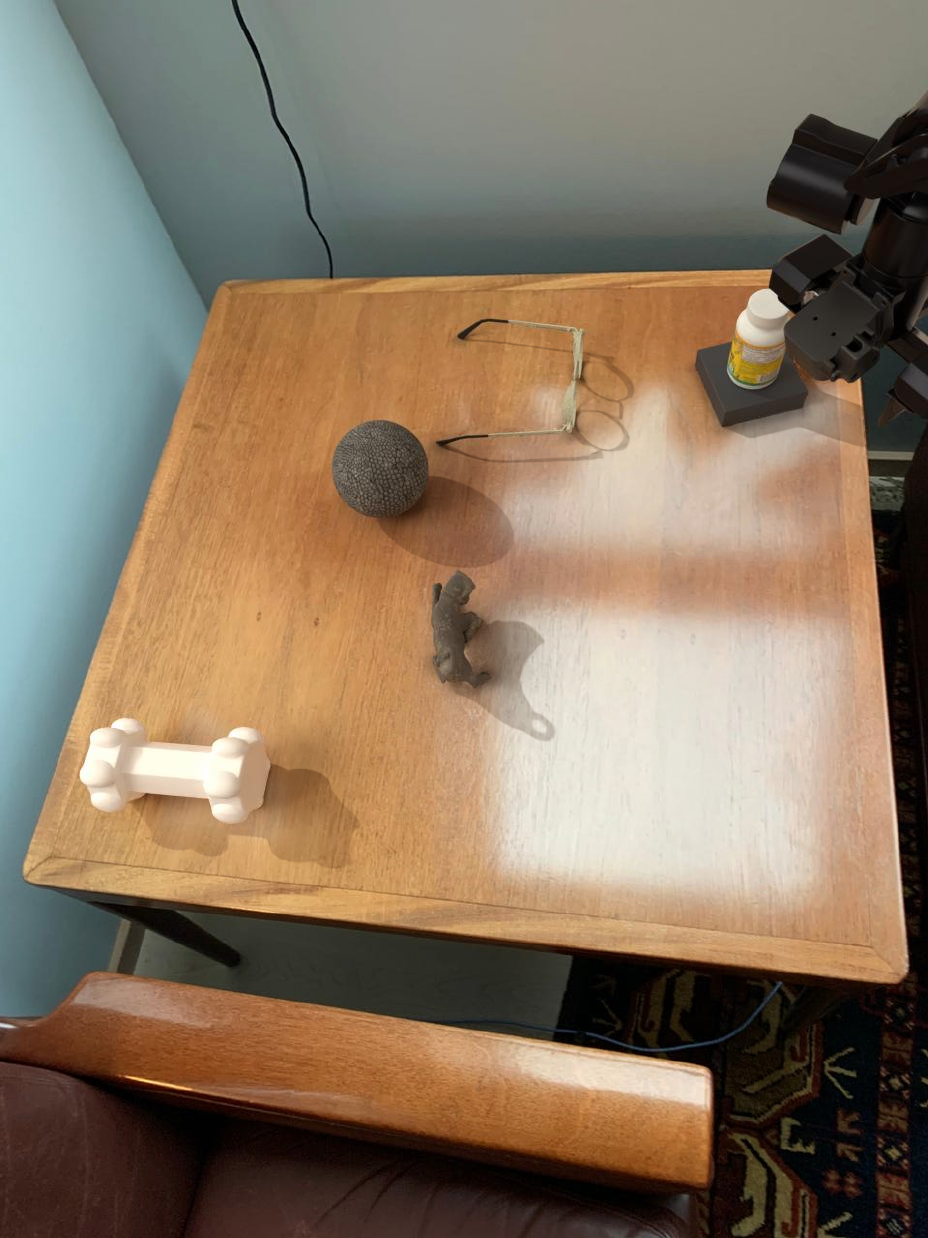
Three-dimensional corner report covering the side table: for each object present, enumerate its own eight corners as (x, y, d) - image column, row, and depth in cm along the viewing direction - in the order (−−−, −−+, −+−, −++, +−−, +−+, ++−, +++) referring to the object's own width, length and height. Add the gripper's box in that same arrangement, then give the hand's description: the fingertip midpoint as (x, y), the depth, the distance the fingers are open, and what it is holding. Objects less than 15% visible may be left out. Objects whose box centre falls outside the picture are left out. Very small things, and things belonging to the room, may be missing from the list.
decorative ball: (405, 443, 97) (387, 383, 88) (452, 504, 93) (439, 447, 84) (328, 489, 96) (303, 432, 87) (373, 552, 91) (351, 499, 83)
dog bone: (279, 743, 83) (251, 715, 76) (260, 834, 80) (228, 813, 72) (135, 732, 86) (94, 703, 78) (110, 819, 82) (64, 798, 75)
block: (772, 346, 97) (777, 329, 95) (803, 407, 93) (808, 391, 91) (694, 365, 97) (697, 349, 95) (721, 427, 93) (725, 412, 91)
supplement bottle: (769, 396, 91) (789, 329, 82) (719, 383, 93) (733, 316, 84) (784, 358, 93) (805, 289, 84) (734, 346, 94) (750, 277, 86)
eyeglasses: (571, 457, 94) (570, 428, 89) (434, 449, 96) (427, 420, 92) (585, 337, 101) (586, 304, 96) (458, 333, 103) (452, 301, 99)
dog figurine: (491, 697, 83) (484, 667, 76) (431, 700, 83) (419, 671, 77) (488, 586, 88) (480, 549, 81) (431, 590, 89) (420, 553, 82)
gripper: (733, 230, 66) (706, 370, 80) (914, 381, 59) (849, 507, 73) (846, 165, 68) (800, 314, 82) (1038, 304, 60) (951, 442, 74)
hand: (845, 391), depth 78 cm, fingers open, 9 cm apart
